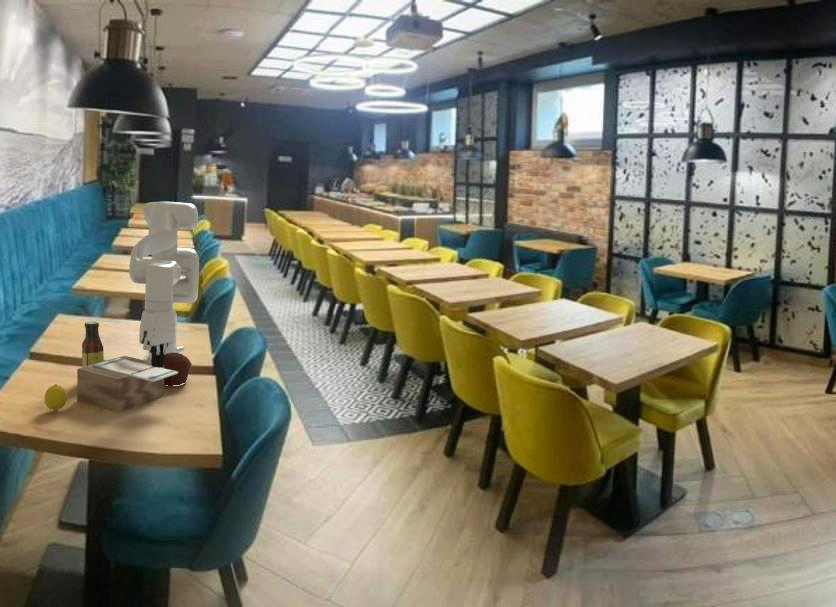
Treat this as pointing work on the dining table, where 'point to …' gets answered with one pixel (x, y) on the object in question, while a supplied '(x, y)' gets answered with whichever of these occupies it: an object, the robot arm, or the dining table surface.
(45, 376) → the dining table surface
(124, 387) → the brown box with strip
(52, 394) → the lemon
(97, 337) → the sauce bottle
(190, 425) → the dining table surface
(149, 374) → the stub
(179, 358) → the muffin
